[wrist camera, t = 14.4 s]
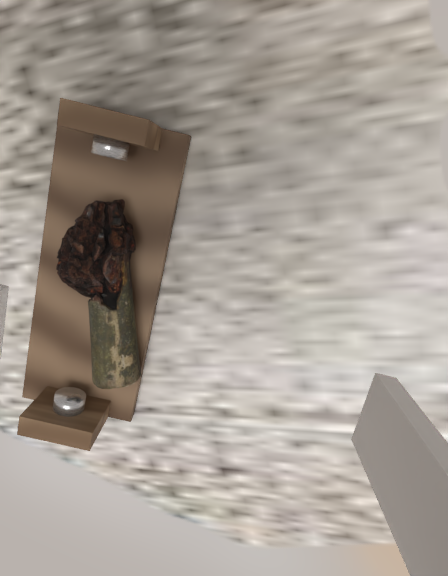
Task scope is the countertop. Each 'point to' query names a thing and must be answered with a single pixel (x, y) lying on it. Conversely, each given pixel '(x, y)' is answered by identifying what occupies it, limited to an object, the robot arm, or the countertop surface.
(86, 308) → the shaft stand
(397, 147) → the countertop surface
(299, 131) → the countertop surface
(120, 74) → the countertop surface
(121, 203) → the lumpy brown club
